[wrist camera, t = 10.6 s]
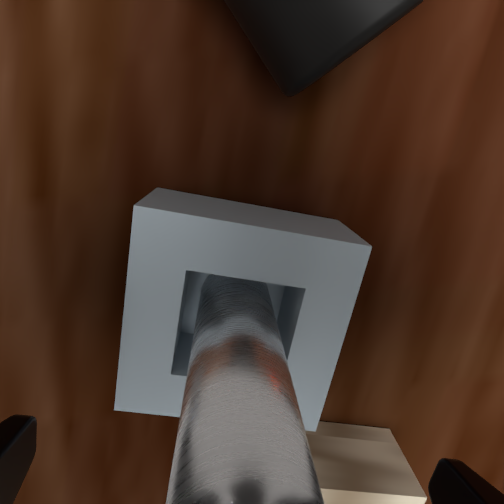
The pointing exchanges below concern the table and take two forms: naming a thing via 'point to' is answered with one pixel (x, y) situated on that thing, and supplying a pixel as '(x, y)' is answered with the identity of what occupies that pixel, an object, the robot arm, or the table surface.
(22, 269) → the table surface
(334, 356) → the slate block
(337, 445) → the birch block
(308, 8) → the end cap
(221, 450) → the cylinder
